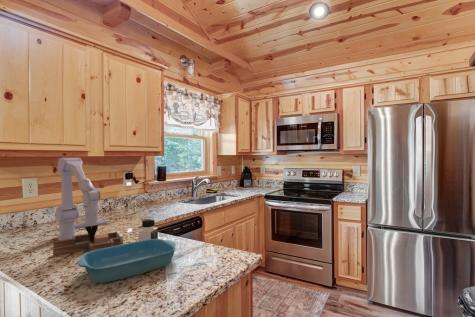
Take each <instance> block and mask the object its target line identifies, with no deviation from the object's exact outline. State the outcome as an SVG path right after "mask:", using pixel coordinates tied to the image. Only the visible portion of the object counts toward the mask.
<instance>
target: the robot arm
mask: <svg viewBox="0 0 475 317" xmlns="http://www.w3.org/2000/svg"><path fill="white" fill-rule="evenodd" d="M83 165H84V163H83V160H82V158H81V157H60V158H59V159H58V161H57V172H58V173H59V174H60V188H61V189H60V192H61V193H60V194H61V204H60V205H59V206H57V207H56V209H55V214H54V218H55V221H56V222H57V223H59V225H58V227H59V228H58V229H59V230H58V231H59V235H58V241H61V240H68V239H72V236H77V234H76V230H78V229H79V230H80V229H85V230H86V232H87V233H86V234H88V235H89V238H90V242H91V243H94V242H93V240H94V236H95V234H96V233H97V231H98V229H99V227H100V226H108V225H109V221H108V220H99V206H98V205H99V201H100V200H101V192H100V190H99V189H97V188H96V187H95V186H94V185H93V183H92V181H91V179H90V178H87V177H86V174H85V172H84V170H83ZM73 175H74V176H75V178H76V179H77V181H78V182H77V187H78V188H79V190H80V192H81V194H82V195H81V200H82V204H83V207H84V222H83V223H77V224H76V221H77V220H78V218H79V216H80V211H79V209H78V208H79V207H78V205H77V204H75V203H74V202H73V201H74V198H73V197H74V196H73Z"/></svg>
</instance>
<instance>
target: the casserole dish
mask: <svg viewBox="0 0 475 317" xmlns="http://www.w3.org/2000/svg"><path fill="white" fill-rule="evenodd" d="M175 252H176V243H175V242H174V241H172V240H169V239H162V238H158V239H148V240H142V241H138V240H137V241H134V242H133V241H132V242H129V243H127V242H126V243H124V244H123V243H121V244H116V245H114V246H112V247H107V248H102V249H98V250H93V251H90V252H89V251H88V252H85V253H84V254H82V256H81V257H80V258H79V259H78V260H77V261H76V264H77V266H79V267H80V268H85V270H86V273H87V275H88V276H89V277H90V279H91V280H92V281H94V282H95V283H99V284H104V283H105V282H107V283H110V282H111V281H112V282H115V281H114V280H116V281H119V280H118V279H120V280H123V279H127V278H131V277H133V275H134V276H137V275H141V274H144V273H143V272H145V273H147V271H148V272H151V270H152V271H154V269H155V270H158V269H161V268H164V267H166V266H168V265H169V264H170V263H171V262H172V260H173V258H174V254H175ZM167 264H168V265H167ZM163 266H164V267H163ZM160 267H161V268H160ZM157 268H158V269H157ZM140 273H141V274H140ZM130 276H131V277H130ZM126 277H127V278H126ZM105 284H106V283H105Z"/></svg>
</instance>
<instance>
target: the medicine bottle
mask: <svg viewBox="0 0 475 317" xmlns="http://www.w3.org/2000/svg"><path fill="white" fill-rule="evenodd" d="M155 223H156V222H155V219H153V218H145V219H143V220H142V221H141V229H139V230H138V231H137V232H138V233H137V234H138V238H137V241H142V240H148V239H159V227H155Z"/></svg>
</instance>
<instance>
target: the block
mask: <svg viewBox="0 0 475 317" xmlns="http://www.w3.org/2000/svg"><path fill="white" fill-rule="evenodd" d="M107 233H108V232H107ZM107 233H106V232H105V233H99V234H96V235H95V236H94V242H93V245H95V244H100V243H106V242H109V239H108V234H107Z"/></svg>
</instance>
